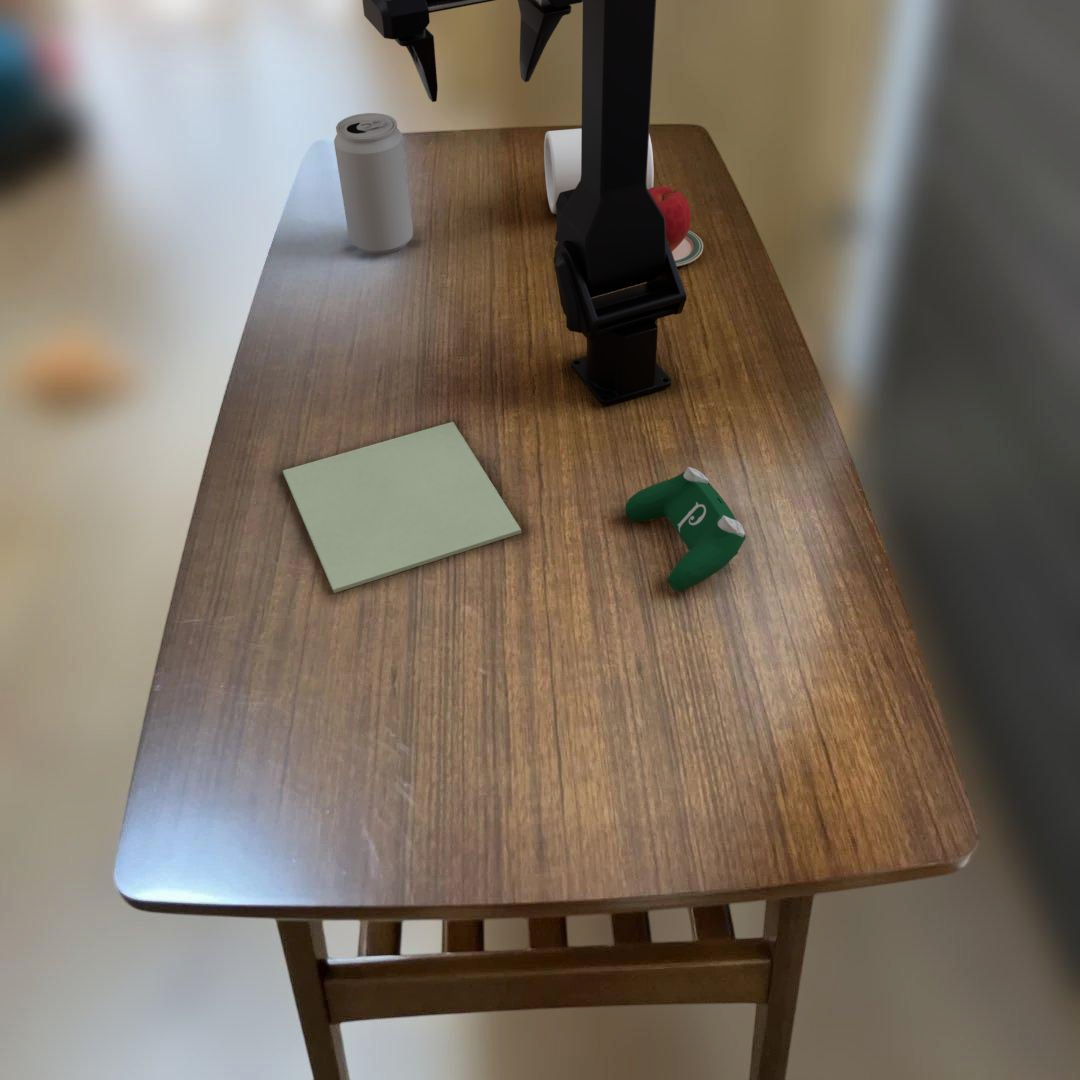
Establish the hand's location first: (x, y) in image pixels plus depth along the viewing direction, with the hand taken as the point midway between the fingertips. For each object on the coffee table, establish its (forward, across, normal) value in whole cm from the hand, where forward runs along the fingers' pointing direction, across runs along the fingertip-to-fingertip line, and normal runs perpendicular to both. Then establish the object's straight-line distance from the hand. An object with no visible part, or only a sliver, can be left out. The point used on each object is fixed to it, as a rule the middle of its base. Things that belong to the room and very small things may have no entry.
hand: (479, 89), depth 103 cm
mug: (+15, -13, -1) cm, 20 cm away
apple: (+14, -14, +12) cm, 23 cm away
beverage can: (+15, +10, -2) cm, 18 cm away
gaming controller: (+12, +6, +48) cm, 50 cm away
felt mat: (+12, +22, +35) cm, 43 cm away
